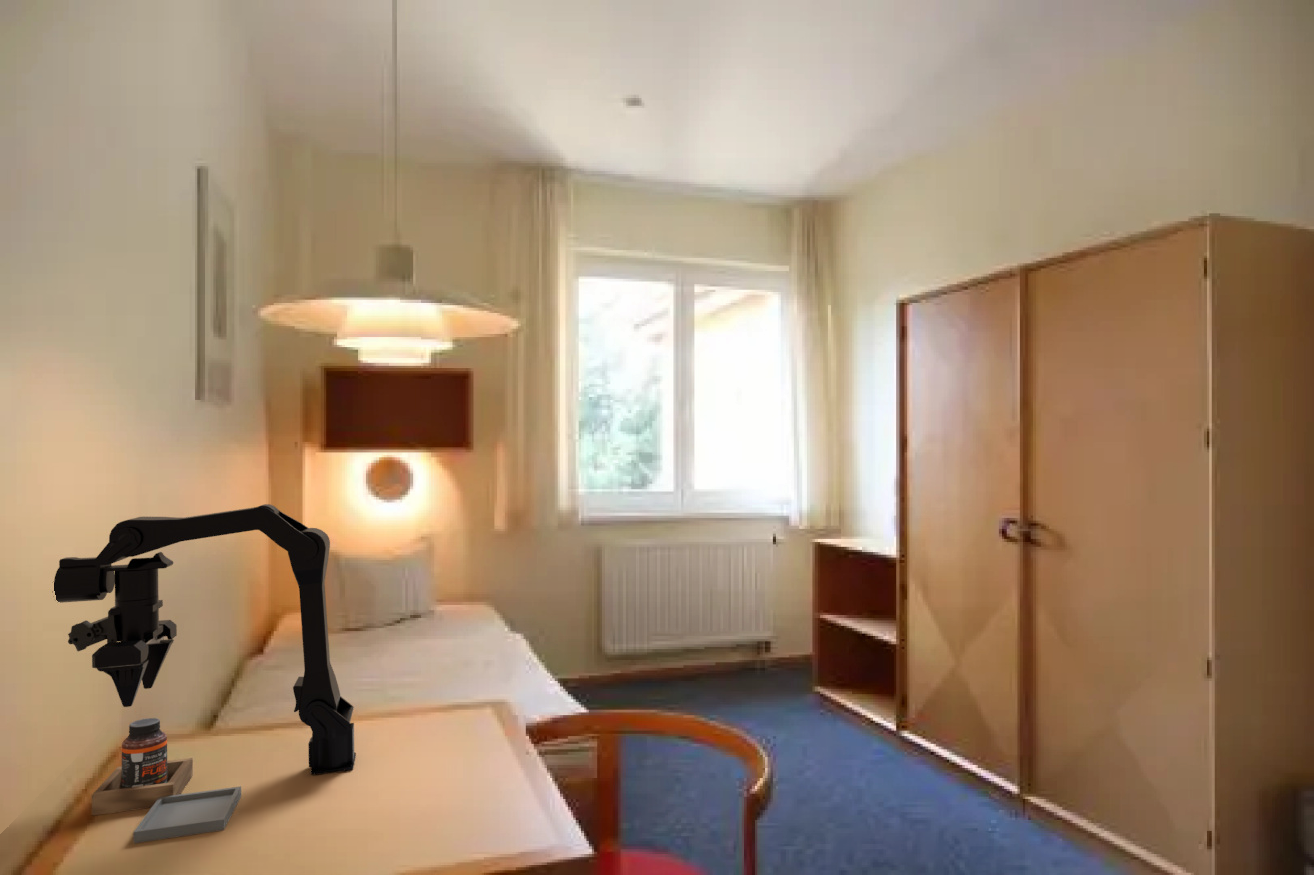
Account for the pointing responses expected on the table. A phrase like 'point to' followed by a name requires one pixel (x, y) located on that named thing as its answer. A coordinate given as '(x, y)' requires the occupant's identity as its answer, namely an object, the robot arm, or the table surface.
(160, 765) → the supplement bottle
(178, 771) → the walnut collar
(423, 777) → the table surface
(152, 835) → the slate tray
